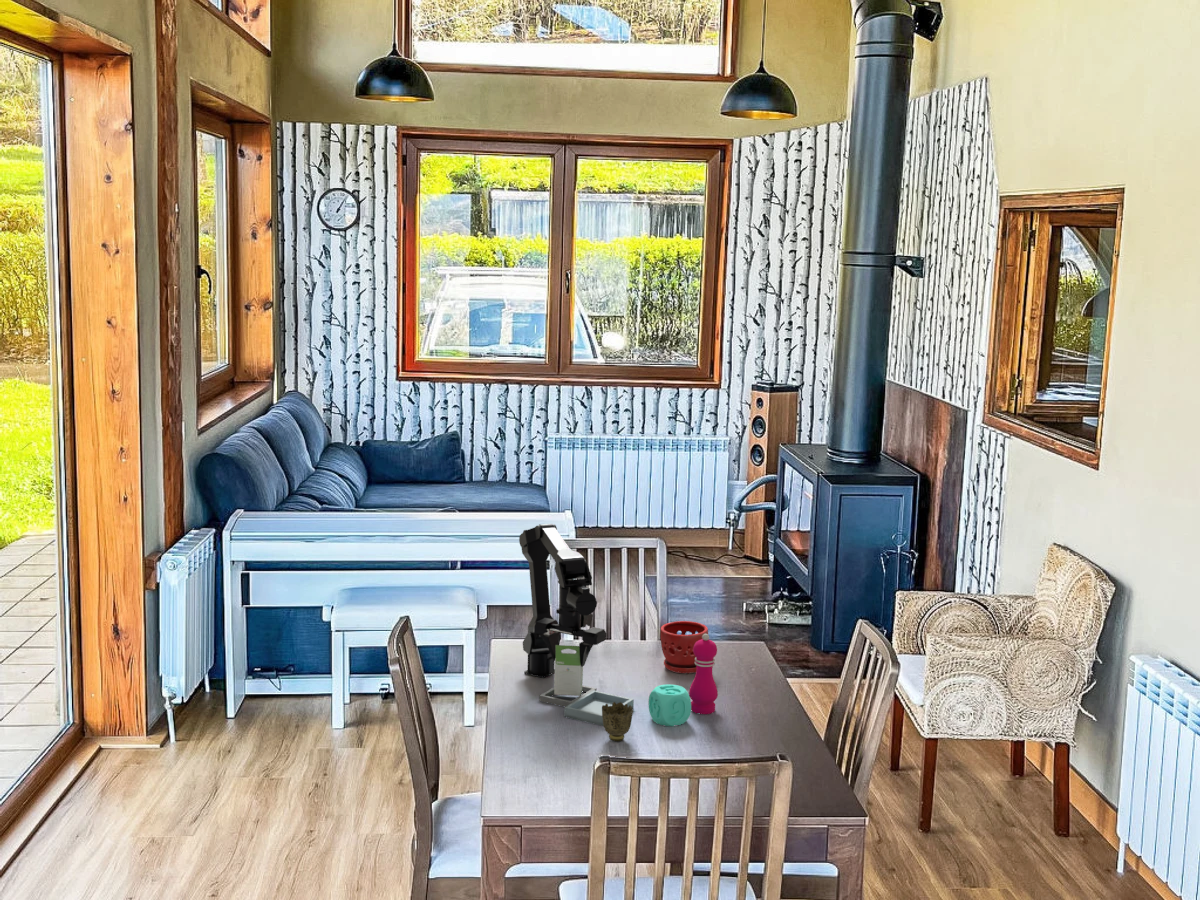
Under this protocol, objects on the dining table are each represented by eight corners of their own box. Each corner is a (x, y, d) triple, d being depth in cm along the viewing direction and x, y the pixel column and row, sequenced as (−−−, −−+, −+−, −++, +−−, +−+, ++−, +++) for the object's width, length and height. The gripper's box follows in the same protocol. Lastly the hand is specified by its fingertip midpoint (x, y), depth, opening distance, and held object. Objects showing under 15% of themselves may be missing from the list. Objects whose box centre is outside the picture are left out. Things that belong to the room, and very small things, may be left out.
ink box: (582, 691, 330) (583, 641, 328) (580, 696, 326) (582, 646, 324) (555, 689, 331) (557, 640, 328) (553, 695, 327) (554, 644, 324)
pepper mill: (721, 708, 324) (724, 632, 321) (711, 717, 317) (714, 639, 314) (694, 703, 327) (697, 627, 324) (684, 712, 320) (687, 635, 317)
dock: (539, 701, 325) (539, 695, 325) (564, 686, 336) (564, 681, 336) (571, 708, 321) (571, 702, 320) (596, 693, 332) (596, 688, 331)
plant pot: (675, 658, 362) (677, 617, 360) (715, 667, 355) (717, 626, 353) (650, 669, 352) (651, 627, 350) (690, 680, 344) (692, 637, 342)
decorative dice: (676, 713, 320) (677, 682, 318) (691, 724, 313) (692, 693, 311) (647, 717, 317) (648, 686, 315) (661, 728, 309) (662, 696, 308)
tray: (564, 717, 315) (564, 707, 314) (593, 699, 327) (593, 690, 327) (605, 726, 309) (605, 716, 309) (633, 708, 322) (633, 699, 322)
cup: (609, 747, 297) (610, 715, 295) (595, 736, 303) (596, 704, 302) (637, 742, 300) (638, 710, 299) (622, 731, 306) (623, 700, 305)
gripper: (617, 603, 327) (616, 661, 329) (555, 591, 336) (554, 648, 338) (596, 613, 317) (594, 673, 320) (532, 601, 326) (531, 660, 329)
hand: (569, 663), depth 327 cm, fingers closed on ink box, 8 cm apart
